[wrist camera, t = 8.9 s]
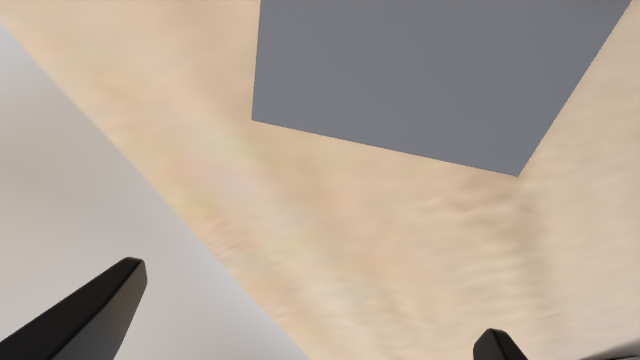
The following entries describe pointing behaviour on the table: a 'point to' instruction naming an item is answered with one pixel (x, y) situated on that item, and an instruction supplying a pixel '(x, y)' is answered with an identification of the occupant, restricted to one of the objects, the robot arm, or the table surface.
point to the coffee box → (632, 359)
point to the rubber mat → (428, 72)
